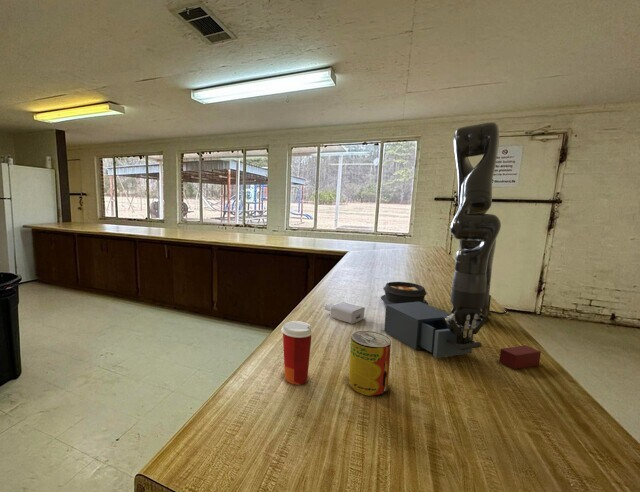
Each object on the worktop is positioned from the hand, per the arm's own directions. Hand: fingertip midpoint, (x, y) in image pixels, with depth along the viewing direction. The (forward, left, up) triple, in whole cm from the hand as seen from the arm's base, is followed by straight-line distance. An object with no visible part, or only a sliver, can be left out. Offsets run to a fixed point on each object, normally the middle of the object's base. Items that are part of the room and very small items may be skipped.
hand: (462, 348), depth 88 cm
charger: (+14, -41, -4) cm, 43 cm away
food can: (+32, +3, -4) cm, 32 cm away
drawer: (0, -7, -3) cm, 7 cm away
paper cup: (+48, -4, -4) cm, 48 cm away
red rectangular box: (-15, +4, -4) cm, 16 cm away
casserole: (-20, -47, -4) cm, 51 cm away
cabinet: (0, -17, -4) cm, 17 cm away
